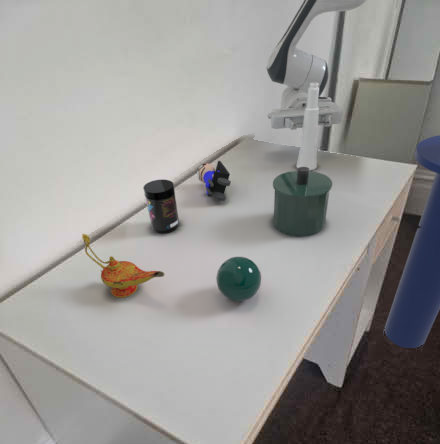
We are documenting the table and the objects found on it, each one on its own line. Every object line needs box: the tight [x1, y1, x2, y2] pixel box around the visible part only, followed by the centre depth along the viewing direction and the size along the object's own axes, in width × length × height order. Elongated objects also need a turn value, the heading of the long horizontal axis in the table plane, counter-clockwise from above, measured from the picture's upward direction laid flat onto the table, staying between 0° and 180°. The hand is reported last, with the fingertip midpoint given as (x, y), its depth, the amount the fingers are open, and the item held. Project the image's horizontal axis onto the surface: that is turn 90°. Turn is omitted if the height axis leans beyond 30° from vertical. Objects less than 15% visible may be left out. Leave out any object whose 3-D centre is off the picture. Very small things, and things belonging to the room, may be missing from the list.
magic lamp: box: [81, 233, 165, 299], centre depth 68 cm, size 7×18×11 cm, turn 63°
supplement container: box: [142, 179, 180, 234], centre depth 85 cm, size 7×7×10 cm
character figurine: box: [196, 160, 232, 202], centre depth 98 cm, size 8×7×15 cm
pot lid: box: [272, 167, 333, 198], centre depth 79 cm, size 13×13×4 cm
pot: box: [273, 189, 330, 237], centre depth 83 cm, size 12×12×10 cm
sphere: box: [215, 256, 262, 302], centre depth 66 cm, size 8×8×8 cm
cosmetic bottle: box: [295, 83, 319, 171], centre depth 103 cm, size 6×6×22 cm
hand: (311, 125), depth 101 cm, fingers open, 8 cm apart
